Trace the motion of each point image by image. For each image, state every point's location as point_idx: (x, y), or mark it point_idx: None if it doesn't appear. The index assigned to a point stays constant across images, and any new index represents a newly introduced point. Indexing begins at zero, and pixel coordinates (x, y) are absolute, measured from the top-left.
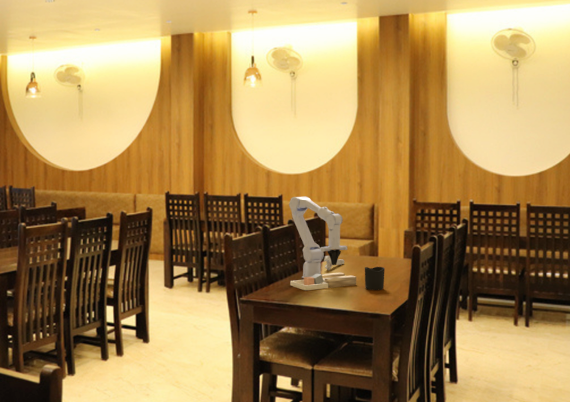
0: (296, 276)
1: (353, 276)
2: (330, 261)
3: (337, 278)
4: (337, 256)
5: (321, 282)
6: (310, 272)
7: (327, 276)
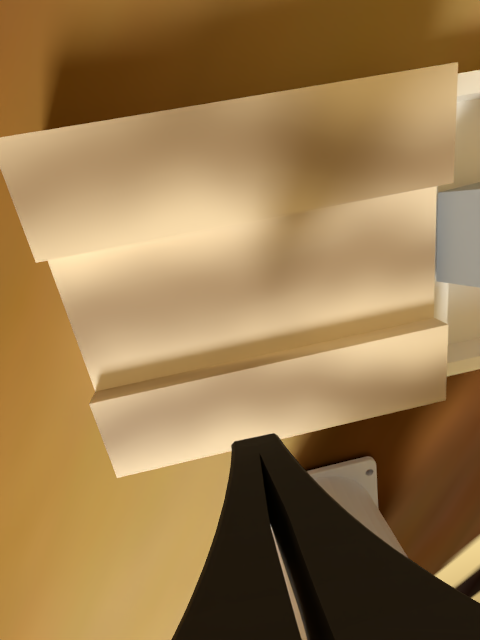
0: None
1: (31, 176)
2: None
3: (319, 101)
4: (243, 576)
5: None
6: (389, 531)
7: (326, 345)
